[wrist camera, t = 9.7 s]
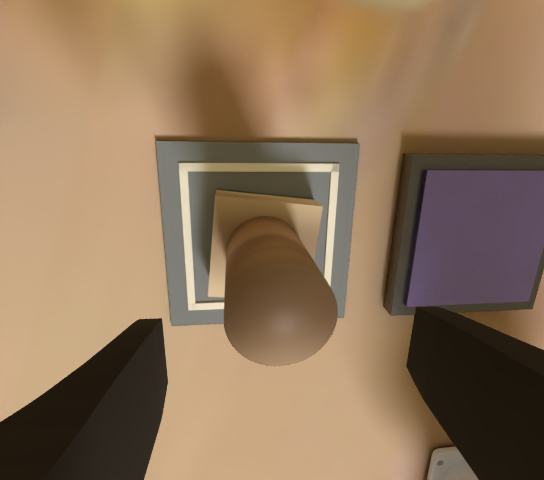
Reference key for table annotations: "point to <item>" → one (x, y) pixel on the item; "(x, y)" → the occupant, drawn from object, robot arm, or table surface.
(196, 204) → the desk mat
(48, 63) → the table surface
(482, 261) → the ink pad
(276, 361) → the stamp
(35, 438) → the robot arm
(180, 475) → the table surface
